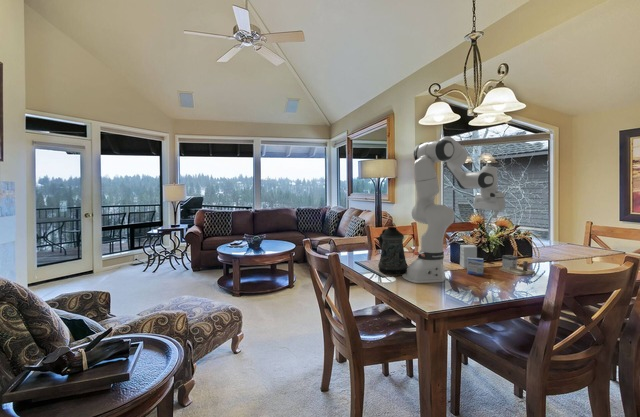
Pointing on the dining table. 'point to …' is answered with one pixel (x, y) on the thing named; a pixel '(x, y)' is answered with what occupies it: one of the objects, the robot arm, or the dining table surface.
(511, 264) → the sleeve
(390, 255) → the black tall carved piece
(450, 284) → the dining table surface
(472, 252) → the supplement box
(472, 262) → the medicine box
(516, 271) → the pinboard
